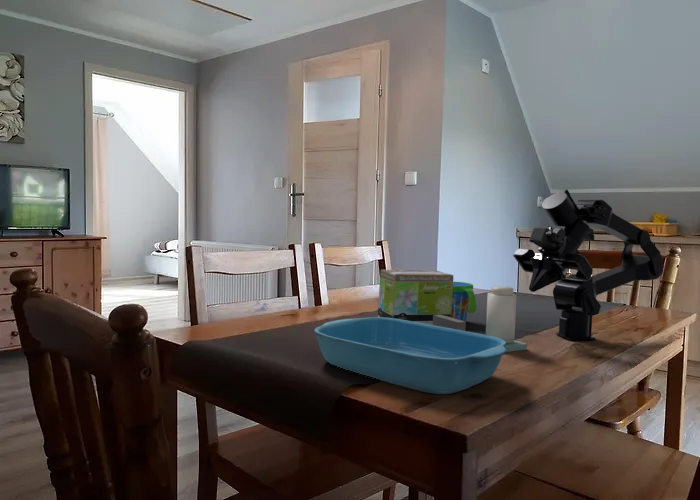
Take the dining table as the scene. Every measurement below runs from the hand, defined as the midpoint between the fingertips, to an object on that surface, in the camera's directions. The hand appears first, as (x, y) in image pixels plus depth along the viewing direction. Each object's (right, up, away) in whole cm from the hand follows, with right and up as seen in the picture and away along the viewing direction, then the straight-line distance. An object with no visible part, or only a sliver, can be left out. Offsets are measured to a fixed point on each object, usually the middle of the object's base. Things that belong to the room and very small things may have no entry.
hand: (531, 290), depth 125 cm
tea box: (-25, -11, +9) cm, 29 cm away
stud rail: (-12, -12, -6) cm, 18 cm away
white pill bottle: (-8, -10, -3) cm, 14 cm away
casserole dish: (-30, -13, -23) cm, 40 cm away
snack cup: (-13, -10, +24) cm, 30 cm away
